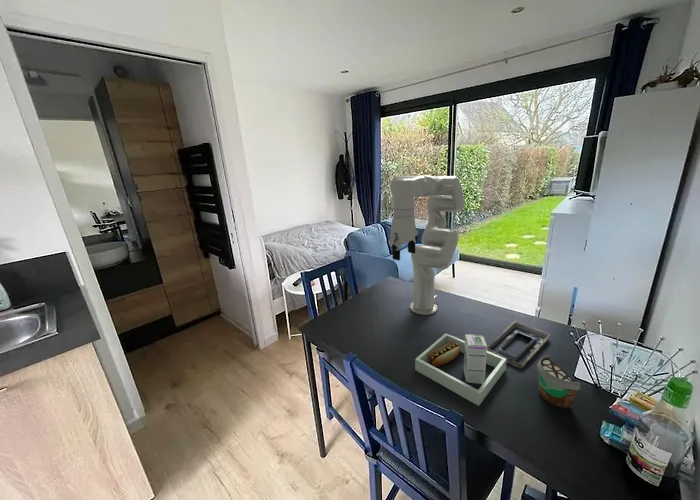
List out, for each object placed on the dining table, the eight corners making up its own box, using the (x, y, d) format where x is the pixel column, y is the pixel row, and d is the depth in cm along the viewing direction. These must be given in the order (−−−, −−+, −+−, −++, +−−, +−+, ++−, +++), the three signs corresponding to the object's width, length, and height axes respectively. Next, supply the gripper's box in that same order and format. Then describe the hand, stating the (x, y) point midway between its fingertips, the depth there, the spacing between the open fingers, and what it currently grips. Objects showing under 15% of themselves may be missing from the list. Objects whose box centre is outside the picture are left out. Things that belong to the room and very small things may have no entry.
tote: (445, 343, 112) (445, 333, 110) (505, 370, 96) (506, 358, 95) (415, 369, 99) (415, 359, 98) (478, 406, 84) (479, 393, 82)
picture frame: (549, 340, 110) (551, 333, 109) (523, 372, 95) (524, 365, 94) (513, 326, 120) (513, 320, 119) (483, 353, 105) (484, 347, 104)
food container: (524, 382, 91) (528, 355, 88) (542, 380, 91) (547, 353, 88) (553, 415, 79) (559, 386, 76) (575, 412, 79) (581, 383, 76)
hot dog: (463, 357, 104) (464, 345, 102) (436, 372, 98) (437, 360, 96) (452, 350, 108) (453, 338, 106) (426, 364, 102) (426, 352, 100)
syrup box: (484, 384, 91) (488, 345, 87) (465, 382, 92) (467, 344, 88) (481, 371, 96) (484, 334, 92) (462, 370, 98) (464, 333, 93)
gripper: (409, 208, 115) (409, 248, 120) (380, 215, 104) (382, 260, 109) (425, 209, 109) (425, 252, 115) (397, 218, 98) (398, 264, 104)
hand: (404, 256), depth 112 cm, fingers open, 9 cm apart
